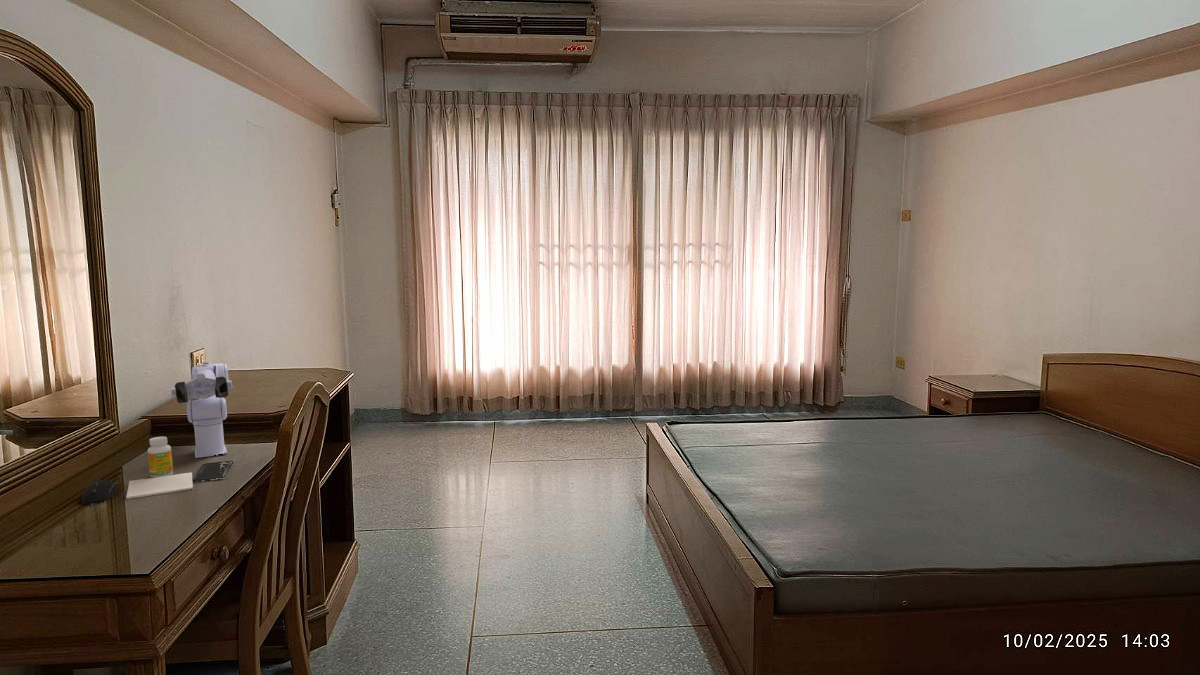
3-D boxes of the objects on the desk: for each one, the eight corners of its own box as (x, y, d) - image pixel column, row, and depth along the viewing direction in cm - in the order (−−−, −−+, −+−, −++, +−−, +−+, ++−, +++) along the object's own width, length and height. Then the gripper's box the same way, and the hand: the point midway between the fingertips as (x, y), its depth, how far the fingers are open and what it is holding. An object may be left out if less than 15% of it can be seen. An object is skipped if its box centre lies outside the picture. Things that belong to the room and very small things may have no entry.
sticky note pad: (129, 482, 200) (129, 480, 200) (192, 474, 207) (191, 472, 207) (126, 499, 188) (126, 497, 188) (192, 489, 194) (192, 487, 194)
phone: (234, 460, 216) (225, 476, 202) (234, 464, 216) (225, 480, 202) (202, 463, 214) (190, 479, 200) (202, 467, 214) (191, 484, 200)
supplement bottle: (157, 479, 203) (153, 442, 202) (145, 476, 206) (141, 439, 204) (177, 473, 207) (174, 437, 206) (166, 470, 210) (162, 434, 209)
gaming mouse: (73, 512, 181) (71, 495, 181) (91, 491, 195) (89, 476, 194) (104, 508, 183) (103, 491, 183) (120, 488, 197) (119, 473, 196)
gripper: (171, 373, 214) (166, 384, 202) (230, 366, 220) (228, 376, 207) (175, 398, 216) (170, 411, 203) (233, 390, 221) (232, 402, 209)
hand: (200, 395), depth 205 cm, fingers open, 7 cm apart
